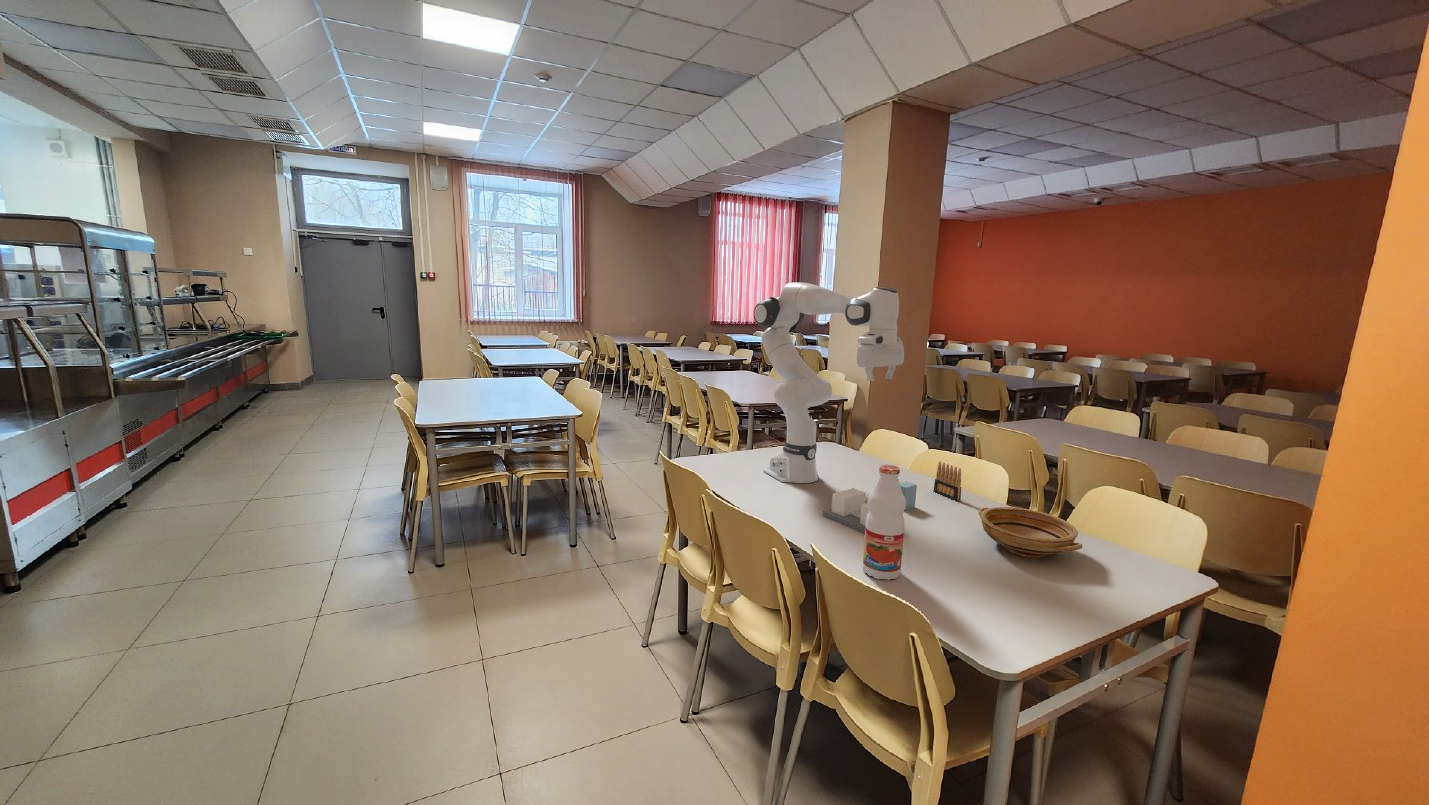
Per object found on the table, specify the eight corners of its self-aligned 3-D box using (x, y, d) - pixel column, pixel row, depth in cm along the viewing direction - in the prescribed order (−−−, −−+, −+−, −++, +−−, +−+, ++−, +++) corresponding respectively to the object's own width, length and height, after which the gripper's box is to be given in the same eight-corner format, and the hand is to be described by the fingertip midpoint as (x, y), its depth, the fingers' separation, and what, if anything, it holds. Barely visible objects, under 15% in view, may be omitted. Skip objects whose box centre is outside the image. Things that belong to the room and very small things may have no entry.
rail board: (822, 515, 181) (824, 493, 180) (851, 506, 189) (853, 485, 188) (873, 537, 165) (875, 513, 164) (902, 526, 173) (904, 503, 172)
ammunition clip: (960, 501, 197) (964, 468, 195) (956, 501, 196) (960, 468, 194) (936, 491, 207) (939, 460, 204) (933, 492, 206) (936, 460, 204)
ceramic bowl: (951, 535, 168) (954, 510, 166) (1006, 523, 178) (1009, 499, 177) (1046, 580, 142) (1050, 551, 140) (1104, 562, 152) (1108, 535, 151)
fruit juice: (897, 565, 148) (905, 463, 143) (903, 583, 139) (913, 474, 134) (860, 562, 149) (867, 460, 144) (864, 579, 140) (872, 471, 135)
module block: (893, 507, 190) (895, 484, 188) (904, 503, 193) (906, 481, 192) (904, 510, 187) (905, 487, 185) (914, 507, 190) (916, 484, 189)
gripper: (894, 336, 192) (891, 376, 194) (854, 337, 180) (852, 380, 182) (910, 337, 187) (907, 378, 189) (870, 339, 175) (867, 383, 177)
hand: (879, 379), depth 186 cm, fingers open, 8 cm apart
